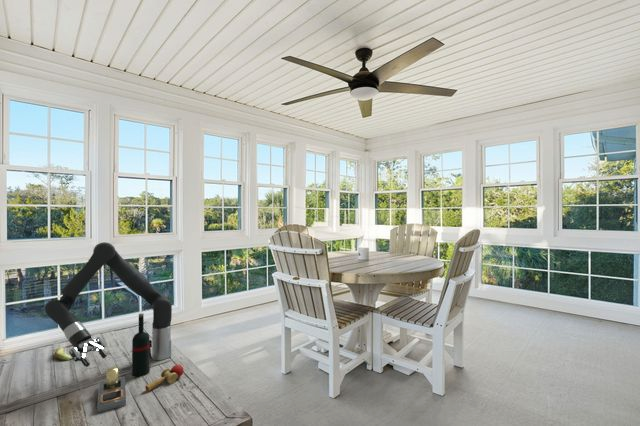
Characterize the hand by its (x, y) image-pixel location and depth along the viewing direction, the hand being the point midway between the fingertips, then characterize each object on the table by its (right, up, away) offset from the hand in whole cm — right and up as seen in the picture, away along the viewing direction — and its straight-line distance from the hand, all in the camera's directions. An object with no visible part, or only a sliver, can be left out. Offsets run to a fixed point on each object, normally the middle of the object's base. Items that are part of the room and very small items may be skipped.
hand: (97, 361), depth 147 cm
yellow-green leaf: (-41, -13, +32) cm, 54 cm away
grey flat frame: (+11, -13, -6) cm, 18 cm away
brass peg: (+8, -13, -2) cm, 15 cm away
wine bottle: (+13, -13, +15) cm, 24 cm away
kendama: (+29, -13, +5) cm, 32 cm away
